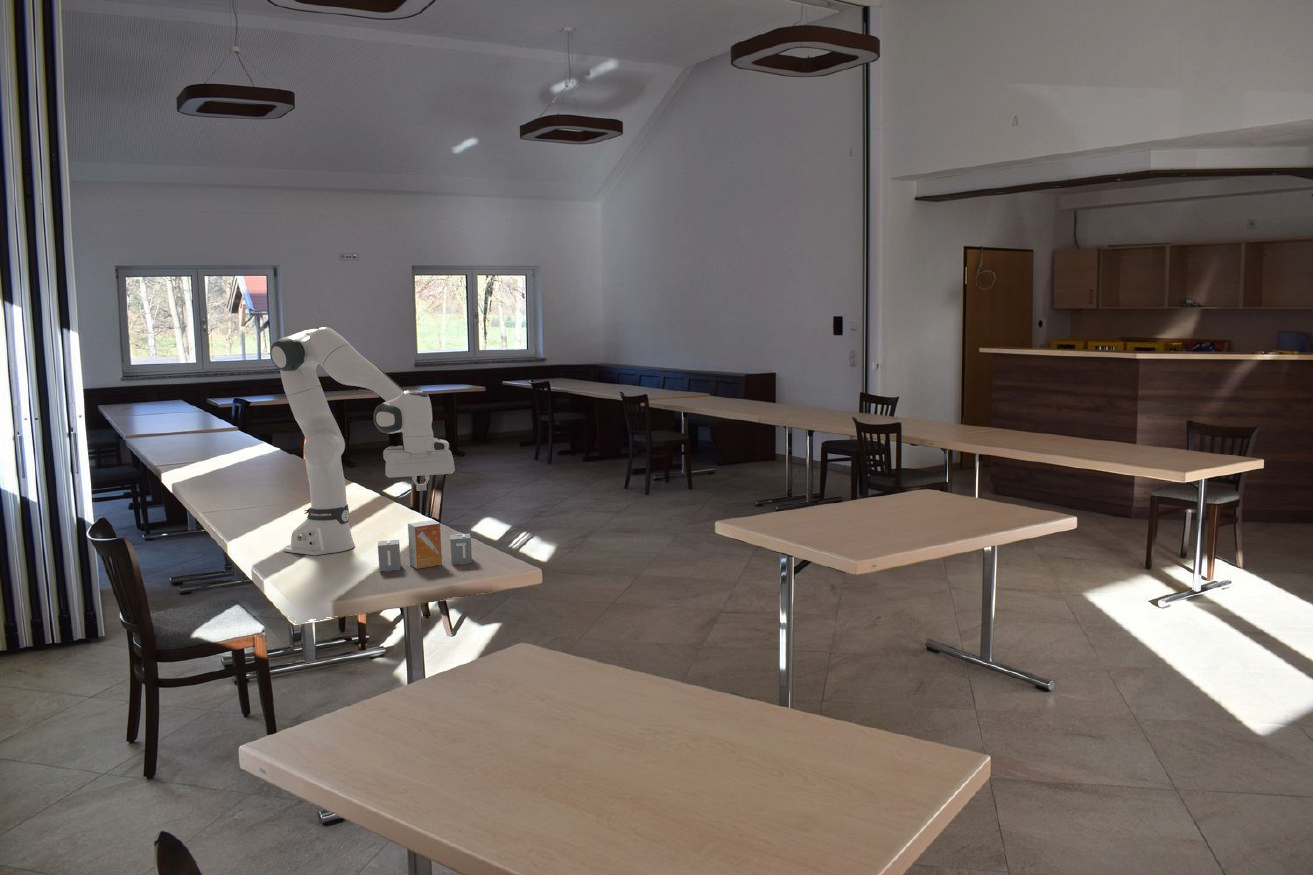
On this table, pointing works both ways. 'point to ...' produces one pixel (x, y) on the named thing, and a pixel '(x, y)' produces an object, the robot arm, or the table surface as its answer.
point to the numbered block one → (389, 555)
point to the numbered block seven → (460, 548)
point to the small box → (424, 544)
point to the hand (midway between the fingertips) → (421, 490)
